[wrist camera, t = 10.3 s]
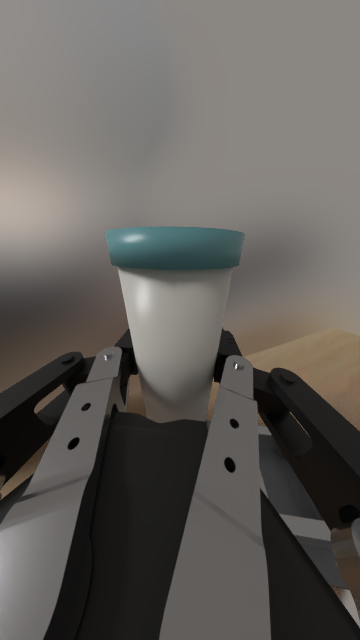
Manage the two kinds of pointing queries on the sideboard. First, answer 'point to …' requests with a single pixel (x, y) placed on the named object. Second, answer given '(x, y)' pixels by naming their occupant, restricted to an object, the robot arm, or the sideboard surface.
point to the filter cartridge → (175, 310)
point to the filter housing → (295, 507)
